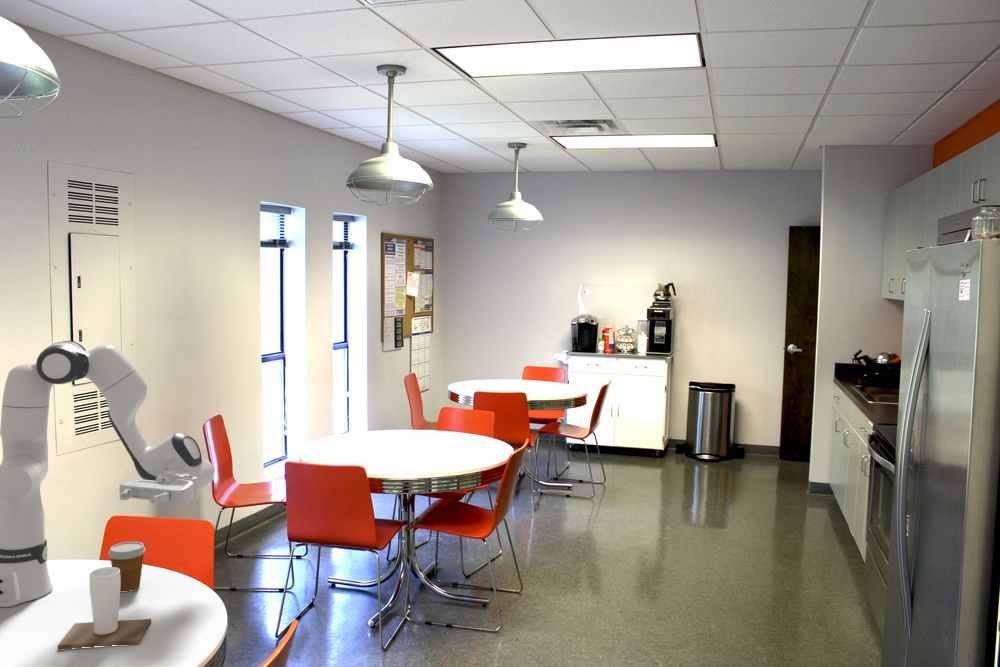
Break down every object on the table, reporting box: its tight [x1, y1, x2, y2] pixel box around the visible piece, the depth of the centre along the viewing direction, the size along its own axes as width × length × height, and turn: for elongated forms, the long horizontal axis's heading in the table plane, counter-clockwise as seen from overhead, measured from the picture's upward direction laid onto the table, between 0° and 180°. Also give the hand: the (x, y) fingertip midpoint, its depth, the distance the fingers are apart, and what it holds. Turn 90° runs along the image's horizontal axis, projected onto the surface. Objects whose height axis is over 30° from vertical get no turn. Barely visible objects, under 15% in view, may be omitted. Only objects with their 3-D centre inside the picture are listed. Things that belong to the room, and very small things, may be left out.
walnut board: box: [57, 618, 152, 651], centre depth 191 cm, size 18×12×1 cm, turn 101°
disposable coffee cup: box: [107, 541, 146, 592], centre depth 220 cm, size 10×10×12 cm
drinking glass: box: [89, 566, 121, 635], centre depth 190 cm, size 7×7×15 cm
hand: (137, 498), depth 204 cm, fingers open, 8 cm apart
